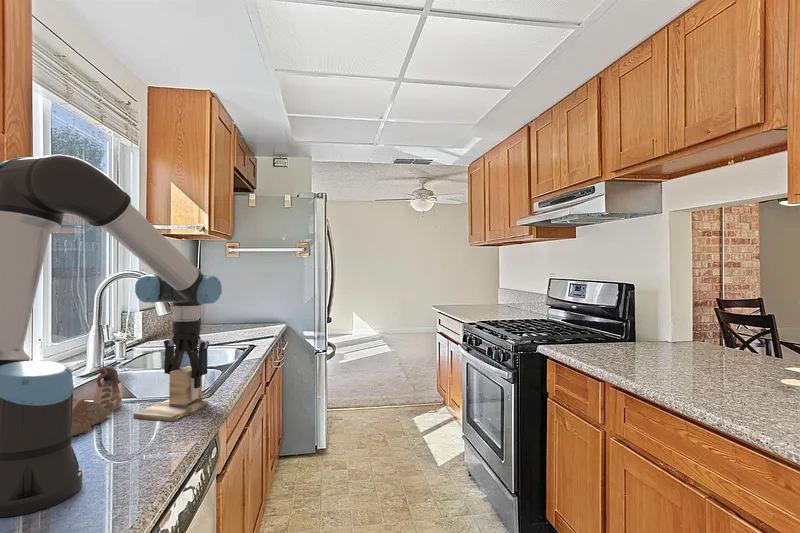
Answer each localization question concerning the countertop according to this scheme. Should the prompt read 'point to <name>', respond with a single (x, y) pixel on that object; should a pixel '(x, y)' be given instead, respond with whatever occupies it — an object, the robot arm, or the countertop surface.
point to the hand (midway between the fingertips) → (185, 398)
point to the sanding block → (182, 388)
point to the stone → (86, 415)
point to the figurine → (108, 389)
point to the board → (168, 411)
